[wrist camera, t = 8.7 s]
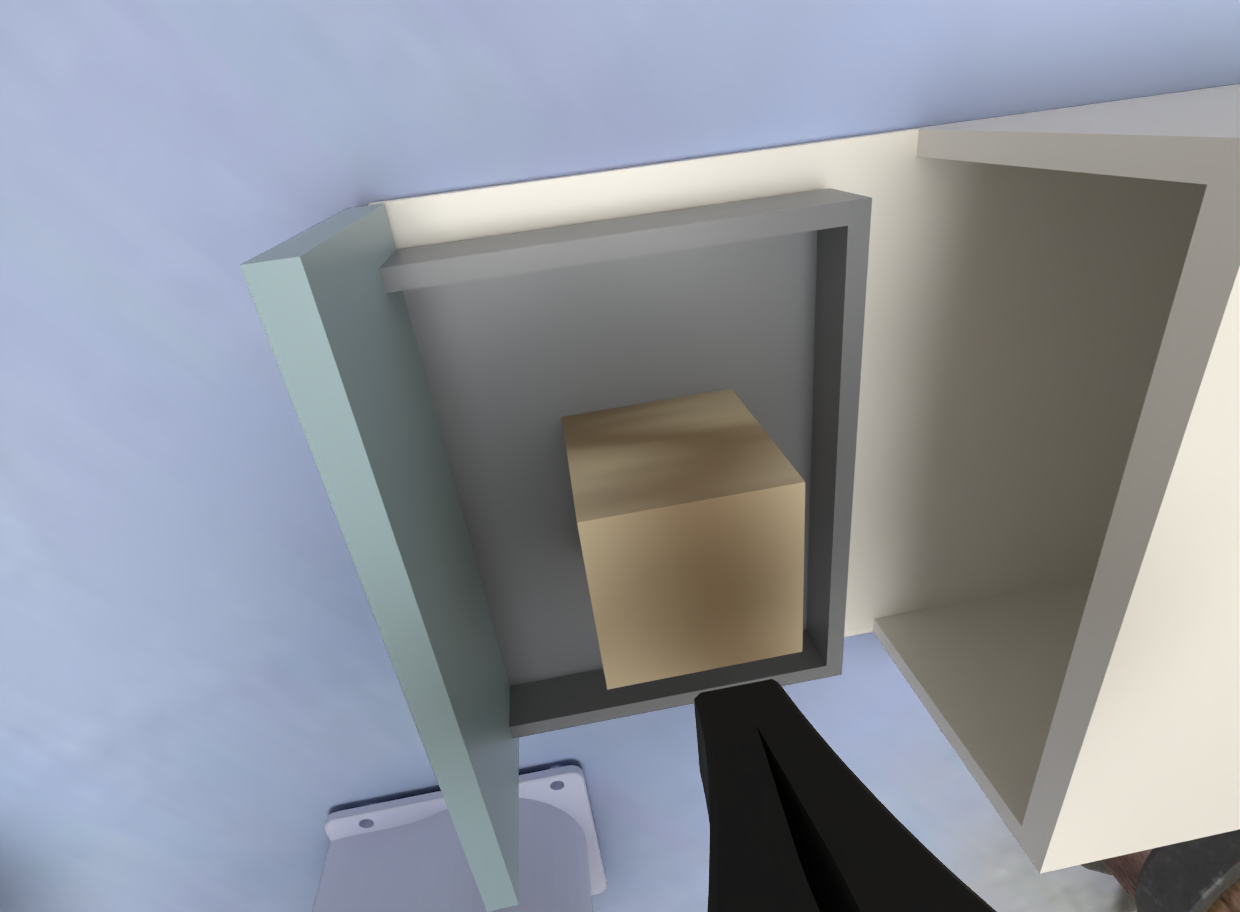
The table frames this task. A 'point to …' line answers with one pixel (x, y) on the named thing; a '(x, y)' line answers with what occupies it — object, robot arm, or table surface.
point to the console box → (1025, 438)
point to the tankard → (1181, 875)
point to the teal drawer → (553, 444)
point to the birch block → (687, 536)
